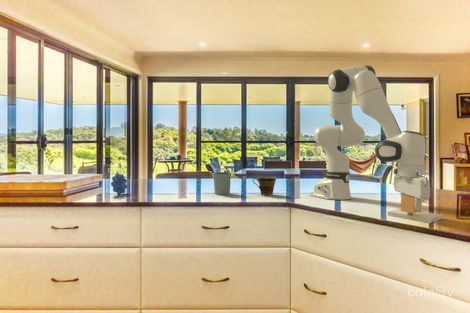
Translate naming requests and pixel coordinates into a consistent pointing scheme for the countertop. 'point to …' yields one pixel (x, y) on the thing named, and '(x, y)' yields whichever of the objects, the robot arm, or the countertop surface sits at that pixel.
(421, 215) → the plate
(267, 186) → the ceramic cup
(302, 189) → the countertop surface
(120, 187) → the grapes
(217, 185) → the grey green pot
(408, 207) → the orange-brown wooden block
